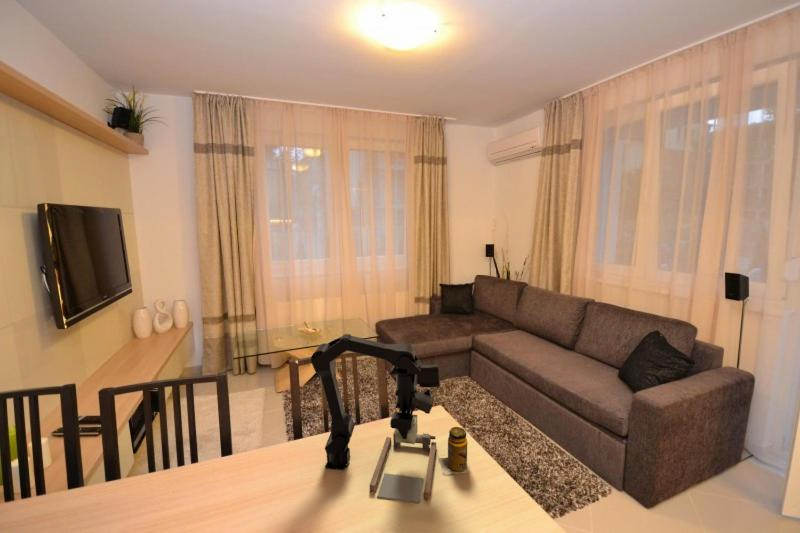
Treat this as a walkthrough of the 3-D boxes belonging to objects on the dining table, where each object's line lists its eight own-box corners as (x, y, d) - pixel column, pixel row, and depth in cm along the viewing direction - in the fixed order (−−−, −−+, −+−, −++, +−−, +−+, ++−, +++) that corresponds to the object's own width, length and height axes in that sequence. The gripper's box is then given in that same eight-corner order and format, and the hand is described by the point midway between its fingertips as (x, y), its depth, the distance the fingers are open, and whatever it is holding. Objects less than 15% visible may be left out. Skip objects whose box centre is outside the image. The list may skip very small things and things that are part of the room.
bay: (369, 492, 103) (369, 478, 102) (387, 440, 126) (387, 428, 125) (429, 500, 100) (429, 485, 99) (436, 445, 123) (436, 433, 122)
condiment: (471, 472, 110) (471, 437, 108) (444, 475, 109) (444, 440, 107) (463, 456, 117) (464, 423, 115) (438, 459, 116) (438, 425, 114)
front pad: (377, 497, 101) (377, 496, 101) (384, 474, 110) (384, 473, 110) (419, 503, 99) (419, 502, 99) (423, 479, 108) (423, 478, 108)
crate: (395, 442, 110) (395, 423, 109) (399, 430, 116) (398, 412, 115) (414, 444, 109) (414, 425, 108) (417, 432, 115) (417, 414, 114)
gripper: (428, 404, 99) (428, 455, 102) (434, 374, 117) (434, 417, 120) (389, 401, 101) (390, 451, 104) (401, 371, 119) (402, 414, 122)
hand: (406, 432), depth 112 cm, fingers closed on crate, 6 cm apart
